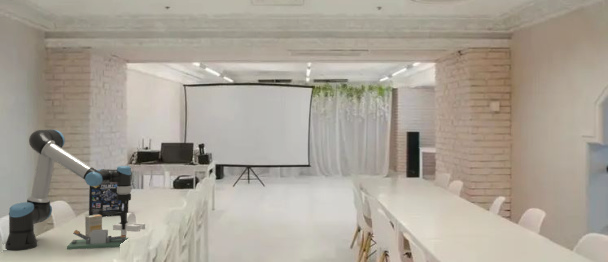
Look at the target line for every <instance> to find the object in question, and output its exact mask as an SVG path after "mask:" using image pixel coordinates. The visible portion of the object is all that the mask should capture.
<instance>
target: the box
mask: <svg viewBox="0 0 608 262" xmlns="http://www.w3.org/2000/svg"><path fill="white" fill-rule="evenodd" d="M88 186H89V185H88ZM88 192H89V193H88V216H90V215H97V214H99V215H102V218H103V217H106V216H107V217H118V216H119V217H121V212H120V204H121V201H118V200H117V194H118V193H117V183H104V184H100V185H98V186H89V191H88ZM127 203H128V204H129V201H127ZM127 213H129V205H128V206H127ZM107 217H106V218H107Z"/></svg>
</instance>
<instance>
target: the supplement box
mask: <svg viewBox="0 0 608 262" xmlns="http://www.w3.org/2000/svg"><path fill="white" fill-rule="evenodd" d="M84 218H85V219H84V220H85V223H84V224H85V228H84V229H85V234H84V235H85V236H87V237H90V233H91V232H92V231H93V230H103V217H102V215H99V214H97V215H90V216H89V215H85V216H84Z"/></svg>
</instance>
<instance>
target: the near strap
mask: <svg viewBox="0 0 608 262" xmlns="http://www.w3.org/2000/svg"><path fill="white" fill-rule="evenodd" d="M73 235H75V236H78V237H79V238H80V239H85V240H87V239H90V237H87V236H85V234H83V233H82V232H81V231H80V230H77V229H75V230H74V231H73Z"/></svg>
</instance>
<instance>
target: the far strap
mask: <svg viewBox="0 0 608 262" xmlns="http://www.w3.org/2000/svg"><path fill="white" fill-rule="evenodd" d="M108 236H109V237H108V238H107V239H110V240H116V239H124V238H127V234H126V235H121V234H120V235H118V236H111V235H108ZM110 236H111V237H110Z"/></svg>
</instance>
